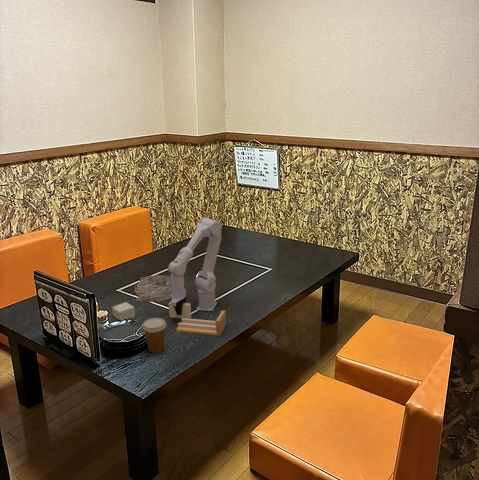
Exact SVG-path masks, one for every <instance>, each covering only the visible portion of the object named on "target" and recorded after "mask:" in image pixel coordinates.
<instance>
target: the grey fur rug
mask: <svg viewBox="0 0 479 480" xmlns="http://www.w3.org/2000/svg"><path fill="white" fill-rule="evenodd" d="M139 278H140V277H139ZM139 281H140V282H137V283H138V284H137V285H135V286H137V288H136V287H135V291H134V292H136V293H138V294H136V295H138V296H137V297H138V299H136V301H135V302H137V301H139V302H138V303H153V302H160V301H164V300H166V299H170V298H171V297H170V295H171V294H172V283H171V275H163V274H162V275H160V274H158V275H157V274H156V275H147V276H141V278H140V280H139ZM184 288H185V289H186V285H185V283H184ZM136 289H137V290H136ZM136 295H135V296H136Z"/></svg>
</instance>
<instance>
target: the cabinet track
mask: <svg viewBox="0 0 479 480" xmlns="http://www.w3.org/2000/svg"><path fill="white" fill-rule="evenodd" d="M226 314H227V313H226V310H221V311H220V313H219V315H218V317H217V318H216V319H215V320H210V319H209V320H206V319H196V318H190V319H187V318H180V319H181V322H178V323H177V327H176V329H175V330H176V332H179V333H180V332H181V333H187V334H198V335H209V336H221V334H222V332H223V331H224V329H225V327H226V325H227V315H226Z"/></svg>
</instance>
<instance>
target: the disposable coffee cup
mask: <svg viewBox="0 0 479 480" xmlns="http://www.w3.org/2000/svg"><path fill="white" fill-rule="evenodd" d="M142 326H143V329H144V332H145V336H146V339H145V340H146V342H147V347H148V351H149V352H151V353H160V352H162V351H163V350H165V341H166V340H165V339H166V338H165V336H166V327H167V323H166V320H165V319H164V318H162V317H161V318H160V317H152V318H149V319H146V320H145V321H144V322H143V324H142Z"/></svg>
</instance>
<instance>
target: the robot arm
mask: <svg viewBox="0 0 479 480" xmlns="http://www.w3.org/2000/svg"><path fill="white" fill-rule="evenodd" d="M222 228H223V226H222V224H221V223H220V221H218V220H214V219H211V218H208V217H206V216H204V217H202V218H200V219H199V221H198V223H197V224H196V229H195V231H194V233H193V234H192V237H191V238H190V240H189V241H188V244H187V245H186V246H184V247H182V248H181V249H180V250H179V253H178V254H177V256H176V257H175V259H174V260H173V261H171V262H169V265H168V268H167V271H168V272H169V274H170V276H171V283H172V294H171V295H170V298H171V301H170V302H171V306H173V307H174V308H175V311H176V314H177V315H181V314H182V306H183V303H187V302H186V301H187V299H188V297H187V296H186V295H187V289H186V287H185V288H184V284H185V277H184V276H185V273H186V271H187V266H188V263H189V262H190V260H191V259H192V257H193V256H194V250H195V249H196V247H197V246H198V245H199V243H200V242H201V241H202V239H203V238H206V237H208V244H207V248H206V252H205V255H204V261H203V265H202V269H201V270H200V271H198V273H197V275H196V277H195V280H194V286H195V287H197V293H198V295H197V296H198V306H197V307H196V311H205V312H212V311H213V310H214V309H215V307H216V305H217V304H218V302H217V301H216V291H215V289H216V287H217V286H216V285H217V284H216V280H217V277H216V276H215V274H214V271H215V266H216V262H217V258H218V254H219V249H220V246H221V241H222Z"/></svg>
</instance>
